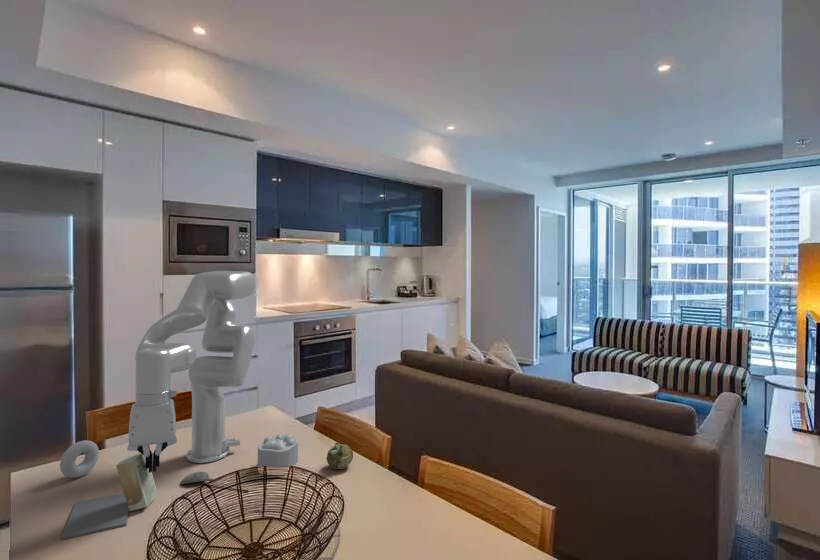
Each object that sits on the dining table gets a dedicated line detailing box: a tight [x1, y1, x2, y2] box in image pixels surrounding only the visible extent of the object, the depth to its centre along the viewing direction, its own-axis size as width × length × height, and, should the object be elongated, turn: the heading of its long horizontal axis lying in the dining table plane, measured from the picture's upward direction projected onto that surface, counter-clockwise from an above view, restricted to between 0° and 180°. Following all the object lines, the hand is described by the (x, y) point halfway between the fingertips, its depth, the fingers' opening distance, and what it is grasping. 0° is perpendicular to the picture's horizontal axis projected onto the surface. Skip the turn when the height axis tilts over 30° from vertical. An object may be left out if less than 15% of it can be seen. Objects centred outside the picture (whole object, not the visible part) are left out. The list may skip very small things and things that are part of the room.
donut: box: [59, 439, 100, 479], centre depth 122 cm, size 10×4×10 cm, turn 161°
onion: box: [326, 441, 354, 470], centre depth 131 cm, size 8×8×8 cm
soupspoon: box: [179, 471, 215, 485], centre depth 119 cm, size 22×3×7 cm
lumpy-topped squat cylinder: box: [257, 433, 299, 467], centre depth 132 cm, size 10×13×9 cm
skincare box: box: [116, 451, 159, 512], centre depth 108 cm, size 6×4×12 cm
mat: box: [60, 492, 130, 541], centre depth 104 cm, size 12×16×1 cm
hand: (152, 469), depth 109 cm, fingers closed
